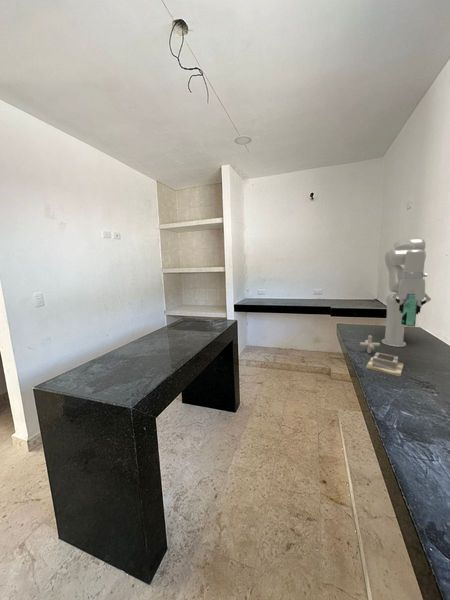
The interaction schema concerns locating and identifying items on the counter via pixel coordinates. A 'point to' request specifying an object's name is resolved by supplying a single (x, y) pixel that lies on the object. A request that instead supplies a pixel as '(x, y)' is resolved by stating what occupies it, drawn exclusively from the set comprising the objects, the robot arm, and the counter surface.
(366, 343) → the pipe connector
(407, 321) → the spray can
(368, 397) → the counter surface
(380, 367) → the collar block
